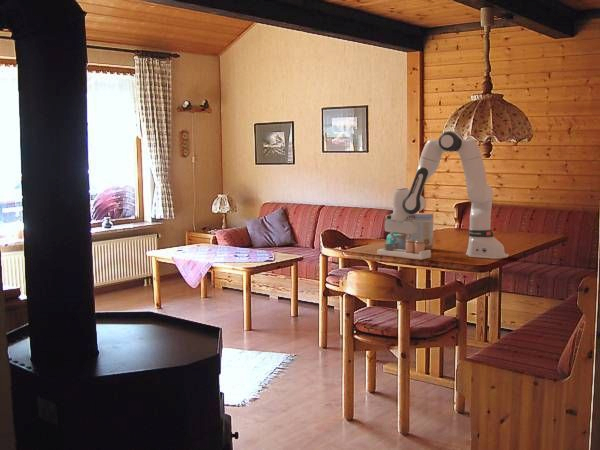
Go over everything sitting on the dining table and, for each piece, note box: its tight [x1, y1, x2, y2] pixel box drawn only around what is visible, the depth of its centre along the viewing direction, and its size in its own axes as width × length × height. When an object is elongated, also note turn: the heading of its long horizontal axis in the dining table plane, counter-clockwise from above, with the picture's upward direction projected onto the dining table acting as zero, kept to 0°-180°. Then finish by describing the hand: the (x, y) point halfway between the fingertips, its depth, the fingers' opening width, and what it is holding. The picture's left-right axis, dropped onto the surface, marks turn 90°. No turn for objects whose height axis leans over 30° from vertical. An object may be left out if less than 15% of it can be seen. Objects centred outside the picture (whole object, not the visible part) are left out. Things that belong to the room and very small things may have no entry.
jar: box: [406, 240, 416, 254], centre depth 381 cm, size 5×5×9 cm
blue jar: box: [396, 234, 407, 250], centre depth 402 cm, size 5×5×9 cm
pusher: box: [384, 242, 399, 251], centre depth 392 cm, size 2×11×6 cm, turn 137°
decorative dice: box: [386, 233, 402, 244], centre depth 414 cm, size 8×8×8 cm
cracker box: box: [409, 212, 434, 251], centre depth 409 cm, size 14×6×21 cm, turn 70°
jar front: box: [414, 241, 425, 254], centre depth 377 cm, size 5×5×9 cm
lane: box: [376, 248, 432, 260], centre depth 384 cm, size 29×9×4 cm, turn 47°
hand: (400, 240), depth 402 cm, fingers open, 8 cm apart
